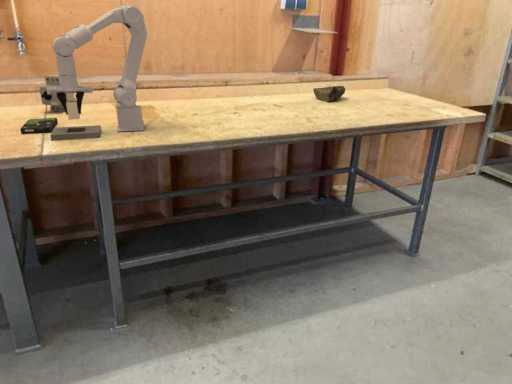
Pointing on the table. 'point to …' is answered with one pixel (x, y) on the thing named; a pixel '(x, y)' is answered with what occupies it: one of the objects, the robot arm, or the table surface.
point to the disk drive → (39, 126)
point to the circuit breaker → (52, 98)
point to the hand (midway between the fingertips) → (73, 113)
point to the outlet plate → (76, 132)
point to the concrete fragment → (329, 93)
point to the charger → (72, 109)
